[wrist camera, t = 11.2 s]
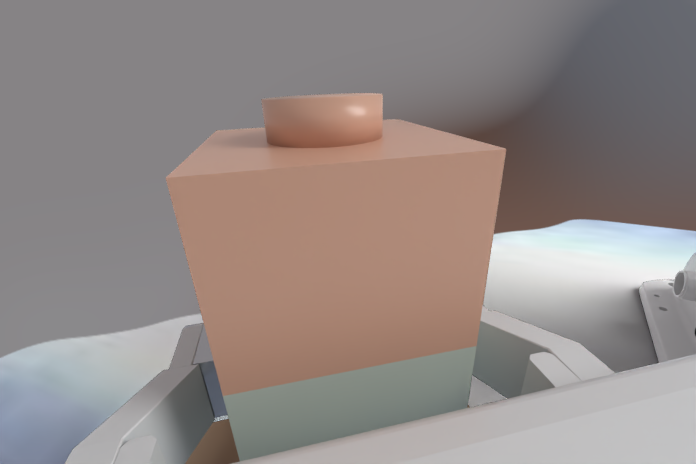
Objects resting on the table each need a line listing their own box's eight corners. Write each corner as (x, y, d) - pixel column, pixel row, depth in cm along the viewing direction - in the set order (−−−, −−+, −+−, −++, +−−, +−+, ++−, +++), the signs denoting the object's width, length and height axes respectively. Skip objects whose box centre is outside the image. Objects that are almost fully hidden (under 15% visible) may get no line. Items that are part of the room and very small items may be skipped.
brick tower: (391, 409, 15) (398, 88, 10) (445, 551, 10) (514, 94, 5) (273, 435, 14) (210, 98, 9) (277, 604, 9) (149, 113, 4)
